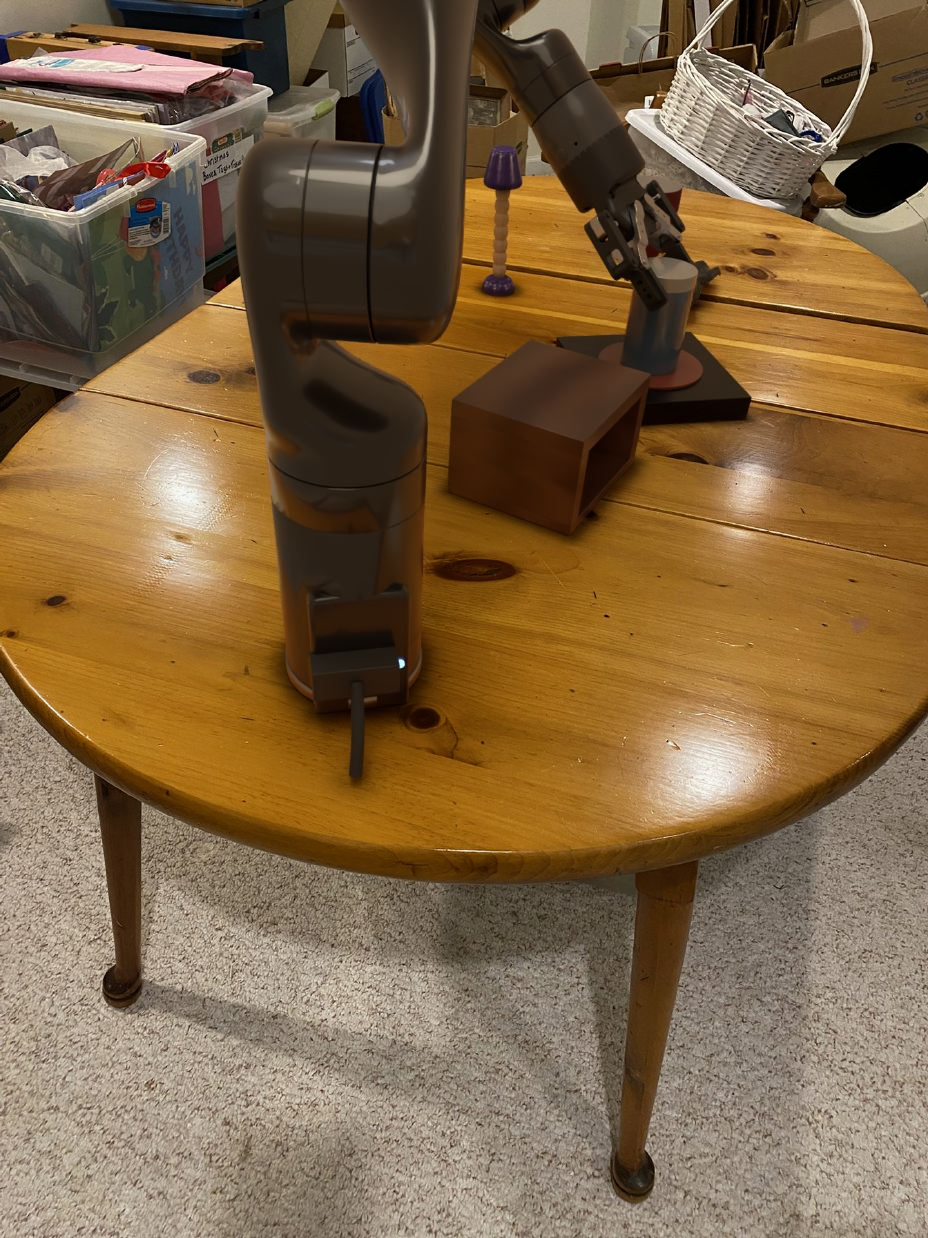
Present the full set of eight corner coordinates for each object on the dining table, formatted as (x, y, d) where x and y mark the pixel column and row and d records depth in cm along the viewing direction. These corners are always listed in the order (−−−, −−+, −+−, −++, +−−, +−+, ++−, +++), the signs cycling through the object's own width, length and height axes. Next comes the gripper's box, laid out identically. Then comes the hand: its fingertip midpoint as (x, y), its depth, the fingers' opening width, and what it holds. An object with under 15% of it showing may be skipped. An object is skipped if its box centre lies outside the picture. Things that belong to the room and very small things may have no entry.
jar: (686, 374, 96) (707, 278, 89) (631, 376, 95) (649, 279, 88) (664, 349, 100) (684, 256, 94) (612, 351, 99) (628, 257, 93)
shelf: (633, 461, 87) (651, 373, 81) (569, 536, 78) (584, 441, 72) (521, 425, 91) (530, 338, 86) (446, 491, 82) (451, 398, 76)
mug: (587, 260, 128) (597, 183, 121) (600, 242, 134) (611, 168, 127) (662, 273, 125) (677, 196, 119) (672, 255, 131) (687, 180, 125)
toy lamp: (493, 299, 115) (503, 155, 104) (469, 287, 118) (477, 145, 107) (521, 291, 118) (534, 149, 107) (497, 279, 120) (508, 140, 110)
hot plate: (745, 419, 95) (752, 394, 93) (598, 428, 92) (603, 402, 90) (686, 351, 107) (691, 328, 105) (553, 357, 104) (556, 333, 102)
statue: (672, 294, 127) (656, 319, 110) (675, 251, 125) (658, 270, 108) (720, 293, 125) (710, 319, 108) (723, 250, 123) (714, 270, 106)
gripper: (586, 136, 81) (682, 295, 85) (645, 108, 91) (730, 252, 94) (527, 188, 86) (619, 336, 90) (588, 156, 96) (670, 291, 99)
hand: (676, 293), depth 92 cm, fingers open, 8 cm apart
